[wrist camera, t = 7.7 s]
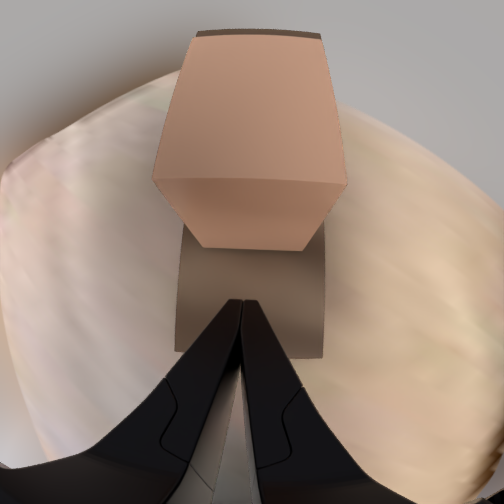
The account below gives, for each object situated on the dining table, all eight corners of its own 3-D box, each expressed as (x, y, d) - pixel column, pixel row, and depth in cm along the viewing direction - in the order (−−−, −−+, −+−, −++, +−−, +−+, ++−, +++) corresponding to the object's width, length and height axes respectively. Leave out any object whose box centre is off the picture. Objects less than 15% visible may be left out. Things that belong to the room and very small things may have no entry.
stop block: (318, 355, 17) (374, 390, 8) (178, 349, 17) (111, 375, 8) (314, 123, 20) (336, 36, 12) (203, 120, 21) (181, 33, 12)
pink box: (302, 251, 17) (347, 184, 8) (203, 247, 17) (151, 178, 8) (299, 141, 18) (321, 39, 10) (215, 138, 19) (192, 37, 10)
